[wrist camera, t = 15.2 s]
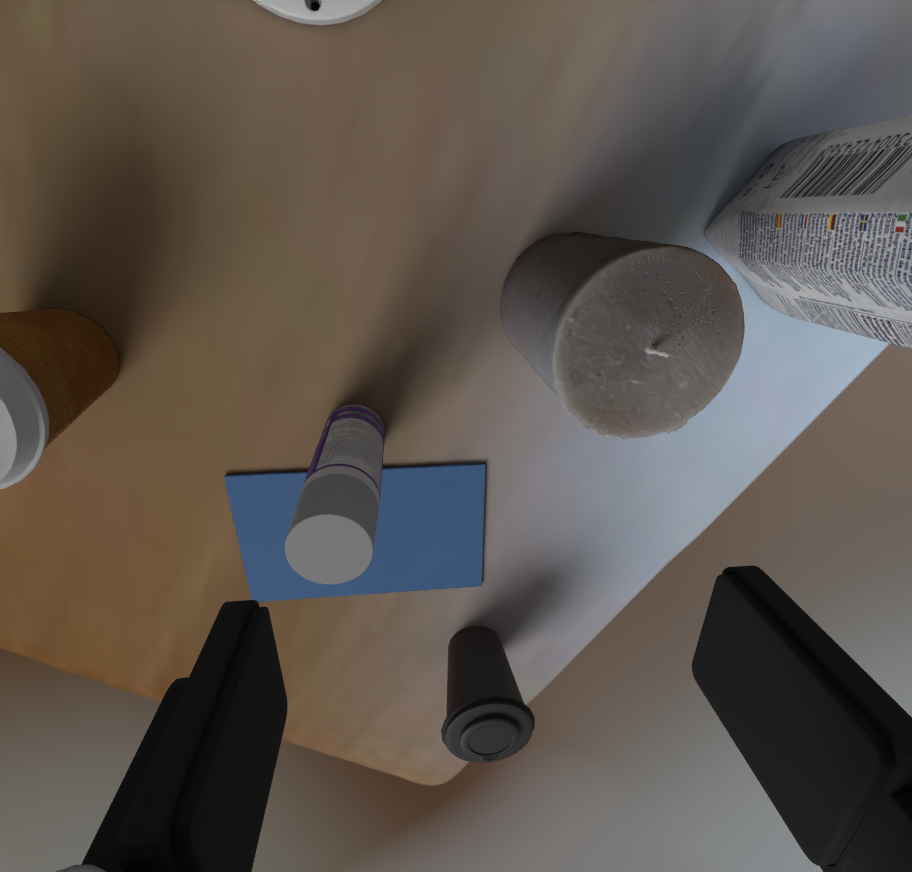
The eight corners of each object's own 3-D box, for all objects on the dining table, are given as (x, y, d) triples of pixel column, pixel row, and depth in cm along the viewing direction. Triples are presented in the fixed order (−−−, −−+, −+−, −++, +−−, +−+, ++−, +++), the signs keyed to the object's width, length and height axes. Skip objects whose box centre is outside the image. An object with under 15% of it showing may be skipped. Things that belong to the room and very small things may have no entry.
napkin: (225, 474, 39) (223, 476, 38) (485, 462, 41) (485, 464, 40) (253, 599, 44) (251, 602, 44) (481, 584, 46) (481, 586, 46)
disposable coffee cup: (-43, 332, 32) (-265, 392, 22) (64, 254, 31) (-115, 276, 20) (75, 440, 36) (-64, 536, 25) (174, 374, 35) (72, 446, 24)
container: (354, 468, 40) (329, 600, 26) (311, 429, 38) (261, 549, 24) (397, 434, 39) (394, 551, 25) (355, 392, 37) (329, 494, 23)
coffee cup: (460, 685, 52) (472, 785, 43) (419, 639, 48) (423, 738, 39) (527, 651, 50) (554, 747, 41) (489, 603, 47) (511, 695, 38)
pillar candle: (589, 201, 33) (720, 192, 20) (649, 318, 37) (792, 378, 23) (473, 288, 35) (519, 335, 21) (541, 391, 39) (617, 487, 25)
